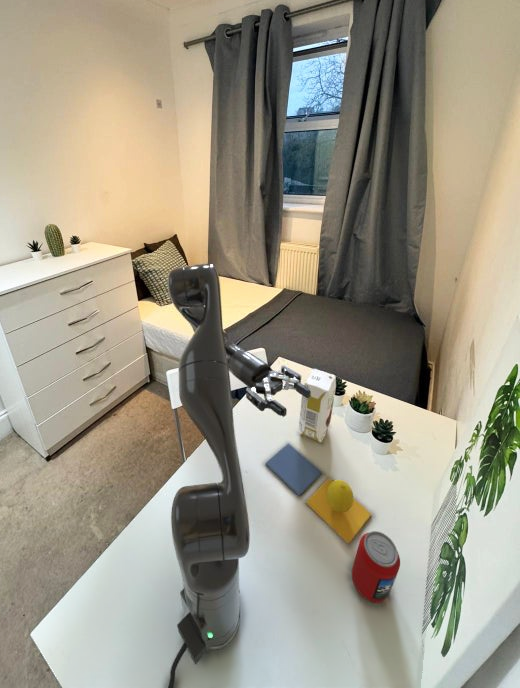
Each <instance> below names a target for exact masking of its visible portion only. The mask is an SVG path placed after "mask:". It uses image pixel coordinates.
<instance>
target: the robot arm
mask: <svg viewBox="0 0 520 688" xmlns="http://www.w3.org/2000/svg"><path fill="white" fill-rule="evenodd" d="M167 289H168V295H169V298H170V300H171V303H172V304H173V306H174V307H175V309H176V310H177V312H178V313H180V315H181V316H182V317H183V318H184V319H185V320H186V321H187V322H188V324H189V325H190V327H191V329H192V331H193V334H192V336H191V338H190V339H189V341H188V342H187V344H186V346H185V347H184V350H183V351H182V353H181V356H180V358H179V361H178V396H179V400H180V403H181V406H182V407H183V409H184V411H185V413H186V414H187V415H188V417H189V418H190V420H191V421H192V422H193V424H194V425H195V427H196V428H197V430H199V432H200V434H201V435H202V436H203V438H204V440H205V441H206V443H207V445H208V446H209V448H210V451H211V452H212V454H213V456H214V458H215V461H216V463H217V465H218V468H219V472H220V474H221V479H222V480H221V481H220V482H210V483H201V484H200V483H199V484H192V485H184V486H182V487H181V488H179V489H178V490H177V491H176V493H175V495H174V498H173V500H172V506H171V514H170V524H171V525H170V526H171V536H172V542H173V547H174V552H175V555H176V558H177V559H176V560H177V562H178V566H179V569H180V570H179V571H180V575H181V579H182V580H181V581H182V586H183V588H182V589H181V590H180V592H179V595H180V600H181V601H180V602H181V607H182V614H183V618H182V619H181V620H180V621H179V622H178V623H177V624H176V625H177V627H176V628H177V632H178V634H179V636H180V638H181V640H182V642H183V644H182V646H181V647H180V649H179V650H178V653H177V654H176V655H175V658H174V660H173V662H172V665H171V668H170V673H169V678H170V679H169V682H168V685H167V688H174V685H175V681H176V670H177V667H178V666H179V663H180V661H181V659H182V657H183V656H184V654H185V652H186V651H188V653H189V656H190V658H191V659H192V661H193V663H194V665H197V664H198V663H199V662H200V660H201V659H202V658H203V657H204V656H205V655H206V654H207V653H208V652H209V651H217V650H221V649H223V648H225V647H226V646H228V645H229V644H230V643H231V642H232V641H233V640H234V637H235V636H236V635H237V632H238V629H239V626H240V621H241V606H240V592H241V590H240V559H242V558H244V557H246V555H247V554H248V552H249V548H250V542H251V538H250V536H251V533H250V521H249V520H250V519H249V512H248V505H247V499H246V492H245V488H244V482H243V476H242V475H243V474H242V470H241V464H240V463H241V462H240V457H239V451H238V445H237V439H236V432H235V431H236V430H235V423H234V421H235V419H234V410H233V400H232V399H233V398H232V386H231V385H232V384H231V377H230V374H232V376H233V377H235V378H236V379H238V381H240V382H241V383H243V384H244V385H245V386H247V388H246V389H245V398H246V400H248V401H249V402H250V403H251V404H252V405H253V406H255V408H257V409H258V410H259V411H260V412H264V411H265V410H267V409H268V410H271V411H272V412H274V413H275V414H276V415H278V416H280V417H283V418H284V417H286V416H287V413H288V411H287V407H285V406H284V405H282V404H281V403H280V402H278V401H277V400H276V399H273V397H272V396H275V395H276V394H278V393H279V392H281V391H288V390H293V391H296V392H297V393H298V394H300V395H301V396H302V395H303V396H304V397H306V398H307V399H308V398H309V397H310V395H311V391H310V389H309V388H308V387H306V386H304V384H303V383H302V375H301V374H300V373H298V372H297V371H295V370H292V369H291V368H289V367H287V366H286V365H281V367H280V368H281V369H279V371H276V370H274V369H272V367H271V366H270V365H269V364H268V363H266V361H263V360H262V359H261V358H259V357H257V356H256V355H254V354H253V353H251V352H249V351H247V350H245V349H243V348H242V347H241V346H239V345H237V344H236V343H234V342H232V341H229V342H228V340H229V335H228V333H227V332H226V331H225V330H224V328H223V313H222V312H223V310H222V291H221V281H220V276H219V272H218V269H217V268H216V266H215V265H214V264H212V263H199V264H198V263H197V264H192V265H185V266H179V267H175V268H173V269H171V270H170V271H169V272H168V276H167ZM283 381H284V382H285V384H284V382H283ZM260 395H263V398H264V399H263V398H262V396H260Z"/></svg>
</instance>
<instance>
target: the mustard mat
mask: <svg viewBox="0 0 520 688" xmlns="http://www.w3.org/2000/svg"><path fill="white" fill-rule="evenodd" d="M333 481H334V480H333V479H331V478H330V477H328V478H327V479H326V480H325V481H324V482H323V483H322V485H321V486H320V487H318V489H316V491H315V492H314V493H313V494H312V495H311V496H310V497H309V498H308V499H307V501H305V504H306V505H307V506H308V507H309V508H310V509H311V510H313V511H314V512H315V513H316V515H318V516H319V517H320V518H321V519H322V521H324V522H325V523H326V524H327V525H328V526H329V527H330V528H331V529H332V530H333V531H334V532H335V533H336V534H338V536H339V537H340V538H342V539H343V540H344V541H345V543H347V544H348V545H350V544H351V542H352V541H353V540H354V538H355V537H356V536H357V534H358V533H359V532H360V530H361V529H362V528H363V526H364V525H365V523H367V521H368V520H369V518H370V517H371V516H372V513H371V512H370V511H369V510H368V509H367V508H366V507H364V506H363V505H362V504H360V502H358V501H357V499H354V498H353V504H352V506H351V508H350V509H349V510H348V511H346V512H338V511H336V510H334V509H333V508H332V507H331V506H330V504H329V502H328V499H327V490H328V487H329V485H330V484H331V483H332V482H333Z"/></svg>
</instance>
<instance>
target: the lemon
mask: <svg viewBox="0 0 520 688" xmlns="http://www.w3.org/2000/svg"><path fill="white" fill-rule="evenodd" d="M332 481H333V482H332V483H331V484H330V485H329V487H328V490H327V499H328V502H329V504H330V506H331V507H332V508H333V509H334V510H336V511H338V512H346V511H348V510H349V509H350V508H351V506H352V504H353V499H354V492H353V489H352V487H351V485H350V484H348V483H347V482H346V481H344V480H342V479H335V480H332Z"/></svg>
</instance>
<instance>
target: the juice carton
mask: <svg viewBox="0 0 520 688" xmlns="http://www.w3.org/2000/svg"><path fill="white" fill-rule="evenodd" d="M336 379H337V377H336V375H335V374H332V373H329V372H326V371H323V370H319V369H318V368H312V369H311V371H310V373H309V375H308V377H307V379H306V381H305V383H304V384H303V385H304V386H306V387H308V388H309V389H310V391H311V395H310V397H309V398H308V399H307V398H306V397H304V396H303V395H301V401H300V412H299V419H298V420H299V422H298V427H299V434H300V435H302V436H303V437H306V438H309V439H311V440H314V441H316V442H318V443H322V442H323V440H324V439H325V436H326V434H327V432H328V428H329V426H330V424H331V420H332V415H333V409H334V402H335V395H336V388H337V381H336Z"/></svg>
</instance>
